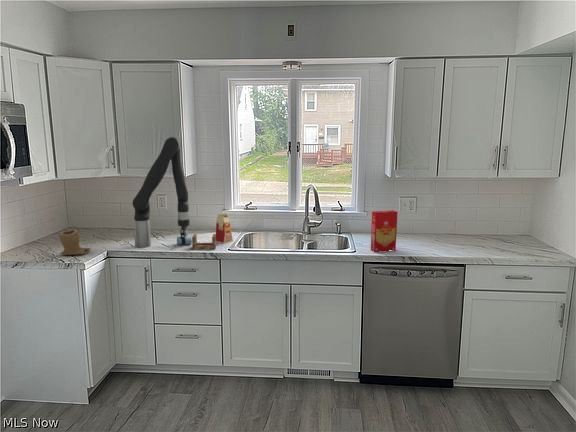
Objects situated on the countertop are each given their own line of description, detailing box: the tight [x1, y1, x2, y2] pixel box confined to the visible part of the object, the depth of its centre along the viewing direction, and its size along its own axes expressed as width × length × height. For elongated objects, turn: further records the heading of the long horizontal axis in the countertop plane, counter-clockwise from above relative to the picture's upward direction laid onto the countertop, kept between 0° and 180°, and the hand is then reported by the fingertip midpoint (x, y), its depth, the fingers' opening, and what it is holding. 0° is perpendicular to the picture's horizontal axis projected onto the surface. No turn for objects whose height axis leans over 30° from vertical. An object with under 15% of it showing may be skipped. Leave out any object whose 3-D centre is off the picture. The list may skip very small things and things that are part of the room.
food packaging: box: [370, 210, 398, 253], centre depth 276 cm, size 15×5×25 cm, turn 106°
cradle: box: [191, 233, 217, 251], centre depth 281 cm, size 14×9×8 cm, turn 94°
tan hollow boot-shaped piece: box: [59, 229, 91, 256], centre depth 263 cm, size 15×12×15 cm
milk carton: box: [215, 212, 234, 245], centre depth 297 cm, size 9×9×20 cm
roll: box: [176, 235, 193, 246], centre depth 290 cm, size 10×6×6 cm, turn 95°
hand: (184, 243), depth 290 cm, fingers open, 6 cm apart
